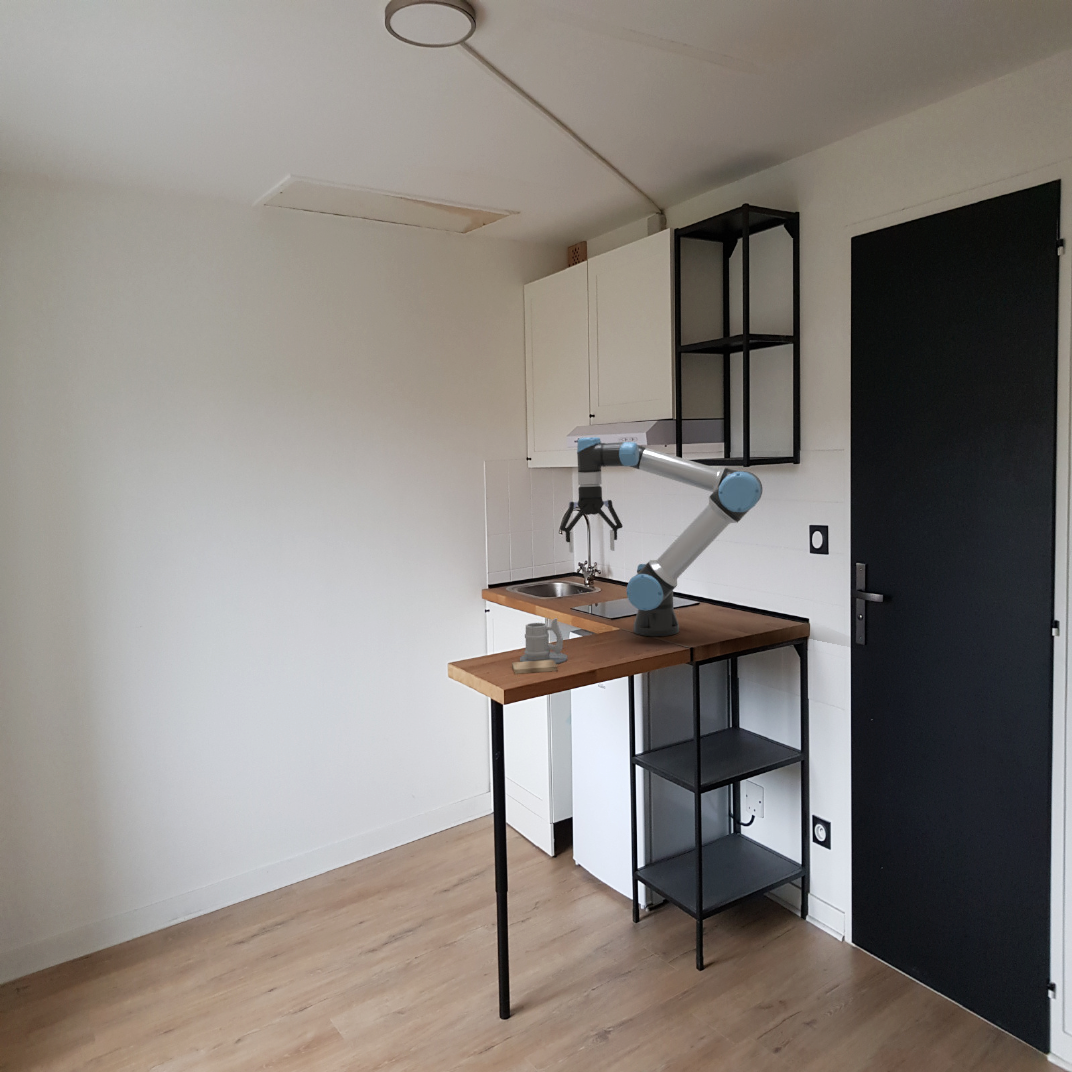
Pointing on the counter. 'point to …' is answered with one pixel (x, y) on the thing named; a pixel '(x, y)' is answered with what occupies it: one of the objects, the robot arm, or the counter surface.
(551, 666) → the small board
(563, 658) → the coaster
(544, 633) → the mug
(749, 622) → the counter surface
